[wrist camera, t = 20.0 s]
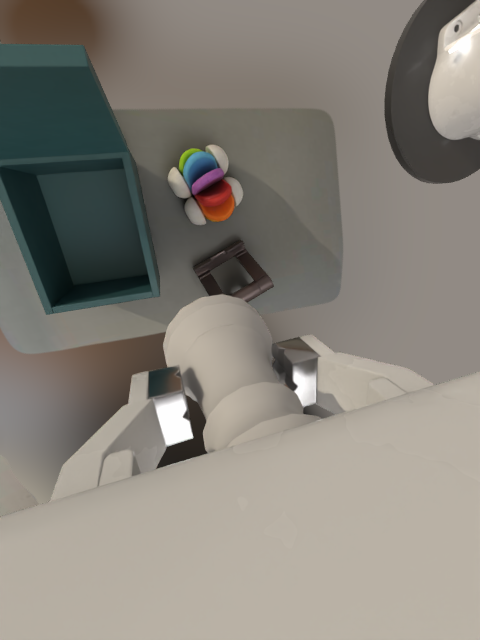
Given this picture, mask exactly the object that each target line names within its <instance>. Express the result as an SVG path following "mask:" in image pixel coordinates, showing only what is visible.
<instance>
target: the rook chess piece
mask: <svg viewBox="0 0 480 640" xmlns="http://www.w3.org/2000/svg"><path fill="white" fill-rule="evenodd" d="M163 348H164V353H165V358H166V363H167V365H168V367H171V366H175V365H179V366H180V371H181V375H182V381H183V386H184V389H185V394H186V395H188V396H190V397H191V398H192V399H193V400H195V401H197V402H198V403H199V405H200V407H201V409H202V412H203V414H204V416H205V418H206V421H207V422H206V425H205V428H204V431H203V437H204V444H205V449H206V451H207V452H208V453H211V452H214V451H218V450H221V449H224V448H228V447H231V446H234V445H238V444H241V443H244V442H248V441H251V440H254V439H258V438H261V437H264V436H267V435H271V434H274V433H277V432H281V431H284V430H287V429H291V428H294V427H297V426H301V425H304V424H307V423H310V422H314V421H317V420H320V419H322V418H320V417H318V416H312V415H305V414H303V405H302V403H301V401H300V399H299V397H298V395H297V394H296V393H295V392H294V391H292V390H291V389H289V388H288V387H286V386H284V385H283V384H280V383H279V382H278V380H277V378H276V375H275V373H274V371H273V369H272V359H273V356H272V351H271V348H272V336H271V334H270V332H269V330H268V328H267V326H266V324H265V322H264V320H263V319H262V318H261V317H260V315H259V313H258V311H257V310H256V309H254V308H253V307H252V306H251V305H249V304H248V303H247V302H245V301H244V300H243V299H240V298H236V297H232V296H228V295H224V294H221V295H214V296H207V297H201V298H199V299H197V300H196V301H194V302H192V303H190V304H189V305H187V306H185V307H184V308H182V309H181V310H180V311H179V312H178V314H177V315H176V316H175V318H174V319H173V320H172V321H171V323H170V324H169V325H168V328H167V332H166V336H165V340H164V344H163Z"/></svg>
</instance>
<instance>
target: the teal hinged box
mask: <svg viewBox="0 0 480 640" xmlns="http://www.w3.org/2000/svg"><path fill="white" fill-rule="evenodd" d="M0 200H1V202H2V205H3V207H4V210H5V212H6V215H7V217H8V220H9V222H10V225H11V227H12V230H13V232H14V235H15V237H16V240H17V242H18V245H19V247H20V250H21V252H22V255H23V257H24V260H25V262H26V265H27V267H28V270H29V272H30V275H31V277H32V280H33V282H34V285H35V287H36V290H37V292H38V295H39V297H40V300H41V302H42V305H43V307H44V310H45V312H46V315H48V314H54V313H60V312H66V311H73V310H79V309H85V308H91V307H97V306H103V305H109V304H115V303H121V302H128V301H134V300H140V299H146V298H152V297H159V296H160V276H159V271H158V267H157V262H156V257H155V252H154V248H153V243H152V238H151V233H150V228H149V224H148V219H147V214H146V209H145V205H144V200H143V195H142V190H141V186H140V181H139V176H138V171H137V167H136V162H135V160H134V159H133V157H132V155H131V153H130V151H129V149H128V152H119V153H103V154H86V155H69V156H53V157H36V158H20V159H3V160H0Z"/></svg>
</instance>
